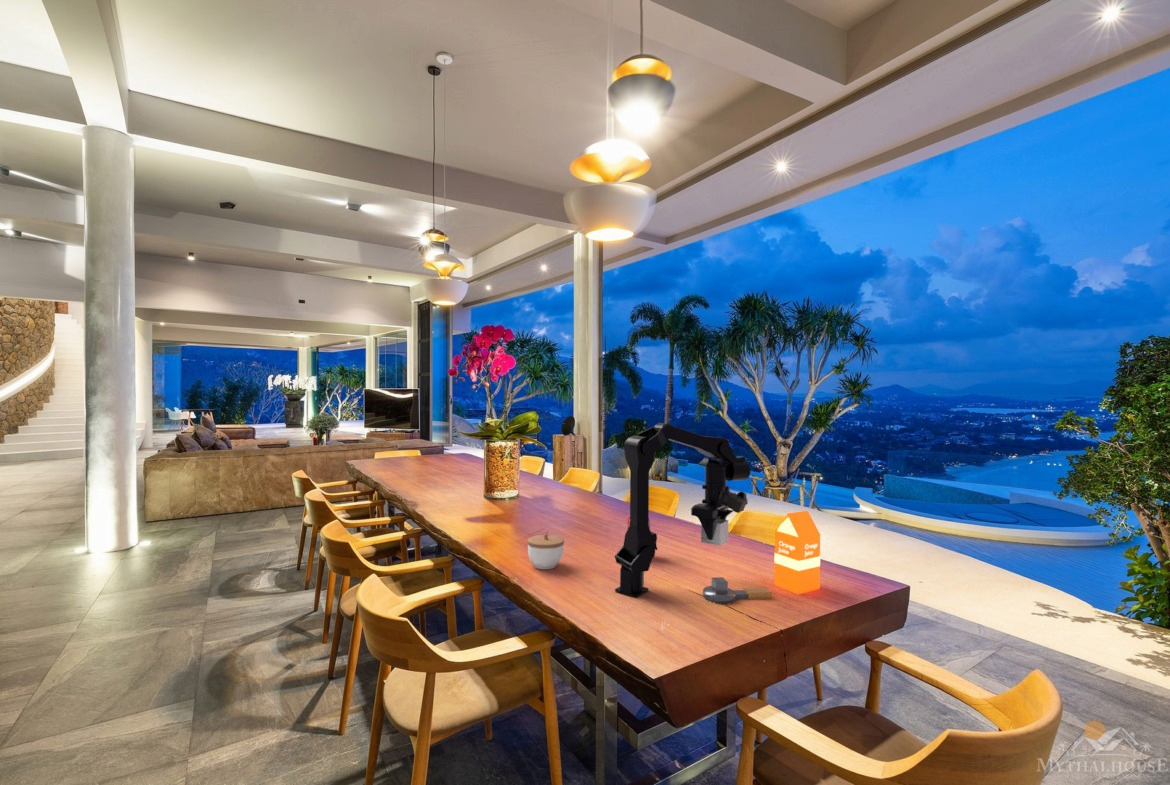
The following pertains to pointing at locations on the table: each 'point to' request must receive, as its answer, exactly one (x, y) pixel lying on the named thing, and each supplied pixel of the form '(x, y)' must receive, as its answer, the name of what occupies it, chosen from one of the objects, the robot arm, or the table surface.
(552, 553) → the lidded jar
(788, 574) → the orange juice
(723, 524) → the white metal cube
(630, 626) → the table surface
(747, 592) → the ratchet
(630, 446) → the robot arm
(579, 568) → the table surface
